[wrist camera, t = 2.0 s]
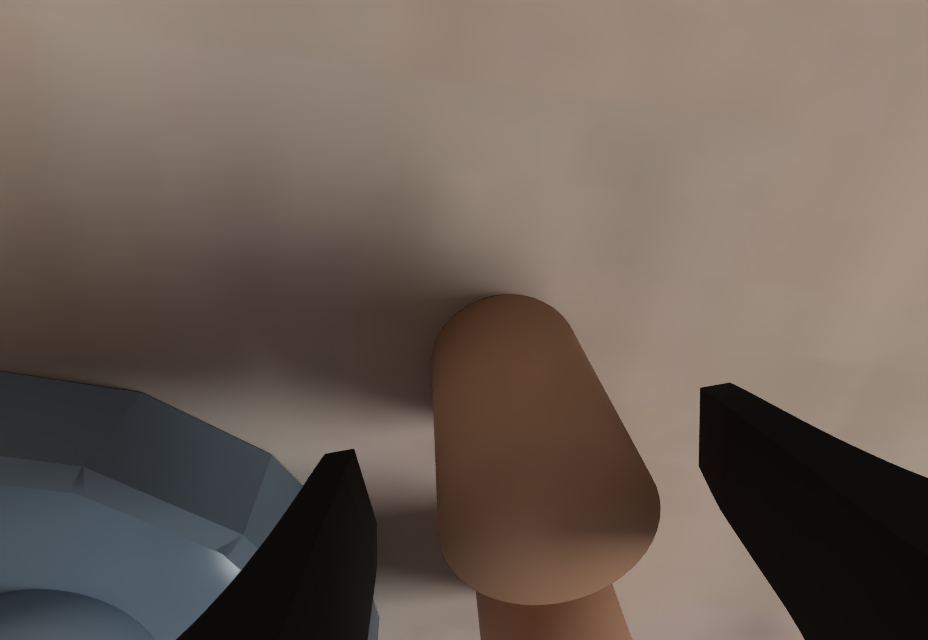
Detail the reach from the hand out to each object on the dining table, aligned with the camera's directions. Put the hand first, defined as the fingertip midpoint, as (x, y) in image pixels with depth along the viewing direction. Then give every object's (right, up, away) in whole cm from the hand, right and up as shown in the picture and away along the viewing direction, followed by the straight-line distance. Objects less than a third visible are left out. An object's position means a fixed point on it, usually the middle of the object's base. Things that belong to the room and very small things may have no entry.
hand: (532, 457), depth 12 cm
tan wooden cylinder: (0, +2, +4) cm, 4 cm away
